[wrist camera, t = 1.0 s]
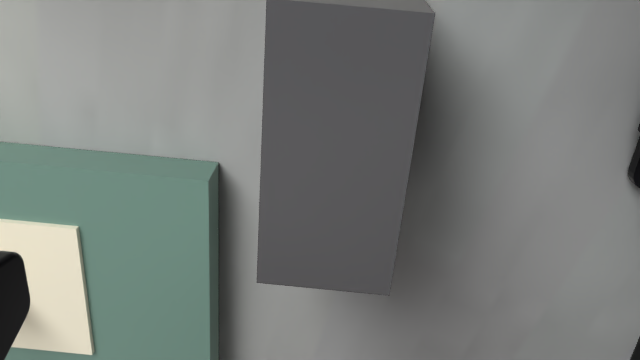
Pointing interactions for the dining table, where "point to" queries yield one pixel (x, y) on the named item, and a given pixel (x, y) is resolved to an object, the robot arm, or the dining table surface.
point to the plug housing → (338, 139)
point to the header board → (112, 253)
